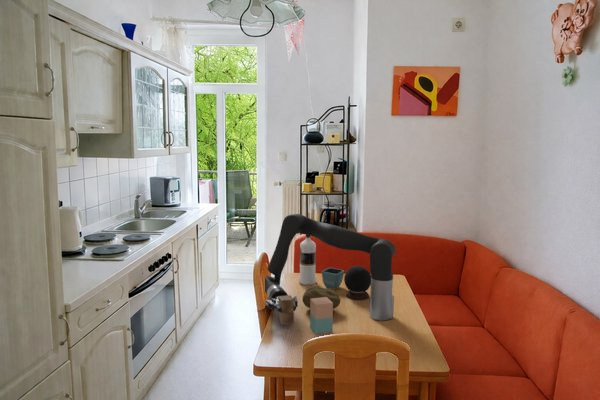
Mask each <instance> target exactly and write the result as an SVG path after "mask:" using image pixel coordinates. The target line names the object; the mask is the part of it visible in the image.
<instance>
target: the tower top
mask: <svg viewBox="0 0 600 400" xmlns="http://www.w3.org/2000/svg"><path fill="white" fill-rule="evenodd" d="M309 309H310V310H309V314H310V313H311V314H312V316H313V317H314V318H315V319H316V320H317V319H325V318H333V317H334V314H333V313H334V309H333V303H332V302H331V301H330V300H329V299H328V298H327V297H322V298H312V299H310V308H309Z"/></svg>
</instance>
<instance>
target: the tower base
mask: <svg viewBox="0 0 600 400" xmlns="http://www.w3.org/2000/svg"><path fill="white" fill-rule="evenodd" d="M333 323H334V321H333V318H325V319H317V320H316V319H315V318H314V317H313V316H312V314H311V313H310V312H309V328H310V329H311V330H312V332H314V334H315V335H318V334H327V333H333V325H334V324H333Z"/></svg>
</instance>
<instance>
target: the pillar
mask: <svg viewBox="0 0 600 400" xmlns="http://www.w3.org/2000/svg"><path fill="white" fill-rule="evenodd" d="M293 298H294V297H293V296H292V295H291V294H287V295H286V296H278V303H279V305H280V306H281V307H282V313H280V312H278V321H279V322H280V324H281V325H289V324H294V322H295V320H294V319H295V316H294V315H295V311H294V299H293Z"/></svg>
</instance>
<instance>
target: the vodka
mask: <svg viewBox="0 0 600 400" xmlns="http://www.w3.org/2000/svg"><path fill="white" fill-rule="evenodd" d="M311 237H312V236H310V235H306V234H305V239H304V240H303V241H301V242H300V243H299V244H300V245H299V248H300V250H299V255H300V256H299V276H298V282H299V283H300V284H301V285H303V286H313V285H314V284H316V283H317V277H316V276H317V275H316V267H317V266H316V251H317V249H316V248H317V244H316V242H315V241H313V240H312V239H311Z"/></svg>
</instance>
